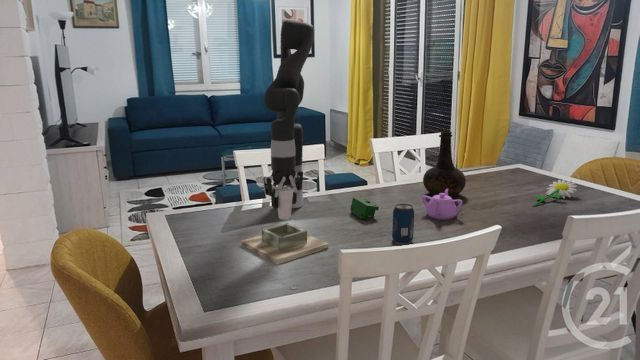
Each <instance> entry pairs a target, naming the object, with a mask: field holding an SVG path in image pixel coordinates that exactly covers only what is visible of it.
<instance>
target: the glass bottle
mask: <svg viewBox="0 0 640 360" xmlns="http://www.w3.org/2000/svg"><path fill="white" fill-rule="evenodd" d="M438 137H439V138H440V141H439V142H440V143H439V151H438V158H437V162H436V164H435V166H433V167H429V169H427V170H426V171H425V173H424V174H423V178H422V184H423V185H424V186H423V187H424V188H425V190H426V191H427V192H428V193H429V194H431V195H432V196H435V195H439V193H444V192H445V190H446V189H448V196H450V197H451V198H452V197H456V196H458V195H460V194H461V193H462V192H463V190H464V189H465V186H466V183H467V179H466V175H465V174H464V172H463V171H461V170H460V169H459V168H457V167H455V164H454V162H453V156H452V155H453V154H452V137H453V134H452V131H449V130H442V131H440V134H439V135H438Z"/></svg>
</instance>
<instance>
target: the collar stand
mask: <svg viewBox="0 0 640 360" xmlns="http://www.w3.org/2000/svg"><path fill="white" fill-rule="evenodd" d="M240 242H241V246H242V247H244V248H246V249H247V250H250V251H252V252H254V253H255V254H257V255H259V256H261V257H262V258H264V259H266V260H267V261H270V262H271V263H273V264H275V265H279V264H282V263H283V264H284V263H285V262H289V261H293V260H295V259H298V258H301V257H304V256H308V255H311V254H313V253H317V252H320V251H323V250H327V249H329V243H328V242H326V241H324V240H321V239H319V238H316V237H315V236H312V235H310V234H308V231H307V230H305V229H303V228H301V227H298V226H296V225H295V224H292V223H289V222H286V223H282V224H278V225H275V226H271V227H267V228H263V229H261V235H257V236H254V237H251V238H247V239H243V240H241V241H240Z"/></svg>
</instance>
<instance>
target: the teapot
mask: <svg viewBox="0 0 640 360" xmlns="http://www.w3.org/2000/svg"><path fill="white" fill-rule="evenodd" d="M427 199H428V200H429V201H428V203H427ZM421 201H422V203H423V205H424V207H425V212H426V215H427V216H429V217H430V218H431V219H435V220H445V221H447V220H451V219H453V218H455V217H456V216H457V212H458V211H459V209H460V208H461V207H462V205H463V200H462V199H453V198H452V197H450V196H448V189H446V190H445V192H444V193H439V195H435V196H434V195H432V196H428V195H422V198H421ZM456 203H458V204H457V206H456Z"/></svg>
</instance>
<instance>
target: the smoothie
mask: <svg viewBox="0 0 640 360" xmlns="http://www.w3.org/2000/svg"><path fill="white" fill-rule="evenodd" d="M275 190H276V189H275ZM293 192H294V188H291V187H288V186H284V187H282V188H281V190H280V191H279V193H278V196H277V197H278V208H277V213H278V215H277V216H278V219H280V220H289V219H291V215H292V209H293V208H292V199H293Z"/></svg>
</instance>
